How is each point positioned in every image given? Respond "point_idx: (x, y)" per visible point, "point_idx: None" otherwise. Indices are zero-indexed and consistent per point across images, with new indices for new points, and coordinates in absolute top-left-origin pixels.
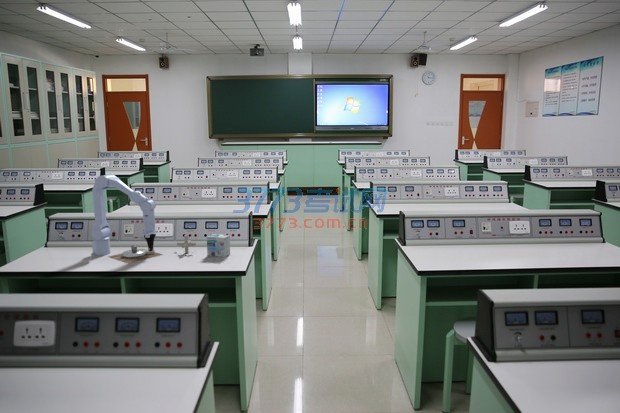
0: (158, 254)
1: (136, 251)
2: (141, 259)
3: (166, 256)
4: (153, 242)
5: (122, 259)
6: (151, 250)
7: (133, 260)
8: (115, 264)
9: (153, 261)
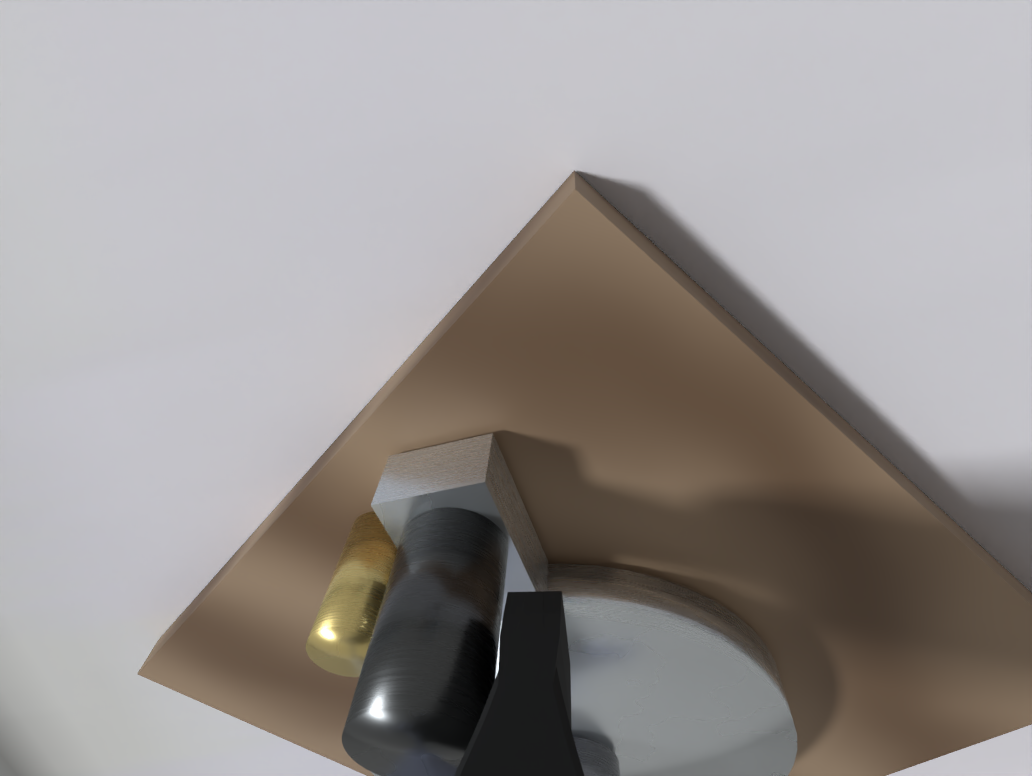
0: (555, 332)
1: (592, 753)
2: (921, 574)
3: (548, 86)
4: (527, 758)
5: (791, 773)
6: (503, 551)
7: (933, 665)
8: (895, 772)
9: (984, 326)
